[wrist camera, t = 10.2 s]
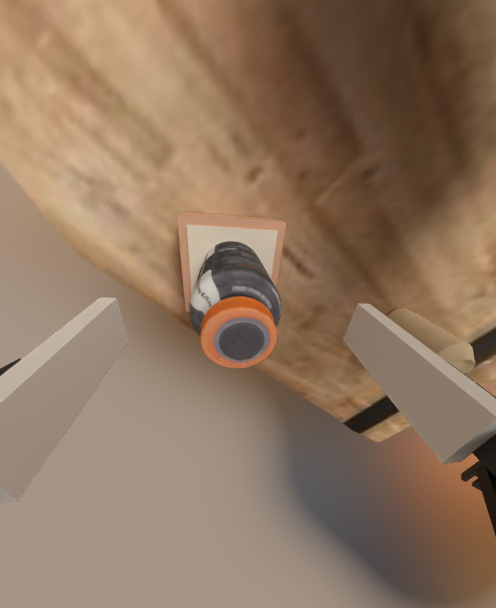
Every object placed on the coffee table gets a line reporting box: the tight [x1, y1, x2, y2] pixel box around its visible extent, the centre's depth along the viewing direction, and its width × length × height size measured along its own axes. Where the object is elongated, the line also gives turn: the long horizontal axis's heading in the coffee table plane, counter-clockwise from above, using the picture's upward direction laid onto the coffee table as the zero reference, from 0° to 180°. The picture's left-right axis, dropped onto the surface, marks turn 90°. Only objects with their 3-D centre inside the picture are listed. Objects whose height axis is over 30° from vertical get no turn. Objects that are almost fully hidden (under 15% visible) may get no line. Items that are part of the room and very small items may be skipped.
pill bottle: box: [189, 241, 281, 368], centre depth 14 cm, size 6×6×11 cm
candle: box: [386, 308, 475, 374], centre depth 27 cm, size 6×6×10 cm
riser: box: [177, 212, 287, 312], centre depth 21 cm, size 10×10×4 cm
